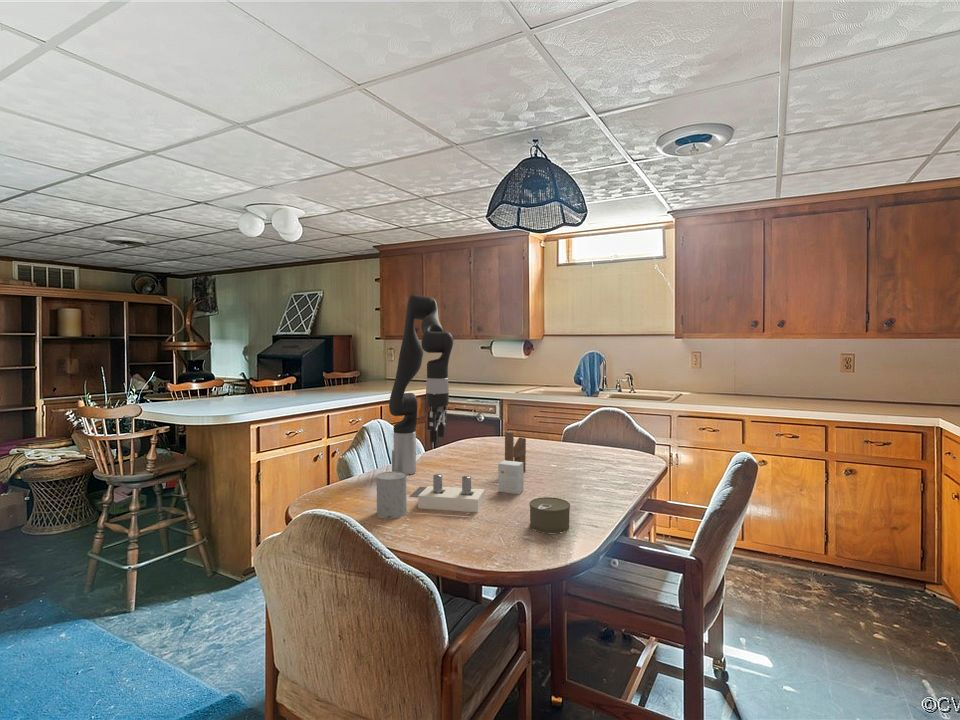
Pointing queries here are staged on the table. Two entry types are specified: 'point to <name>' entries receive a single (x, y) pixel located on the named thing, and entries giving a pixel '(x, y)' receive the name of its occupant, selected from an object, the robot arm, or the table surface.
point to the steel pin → (437, 483)
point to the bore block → (452, 499)
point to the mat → (417, 492)
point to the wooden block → (515, 449)
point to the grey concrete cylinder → (391, 495)
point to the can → (549, 515)
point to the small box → (510, 477)
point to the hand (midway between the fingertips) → (437, 439)
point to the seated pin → (466, 485)
